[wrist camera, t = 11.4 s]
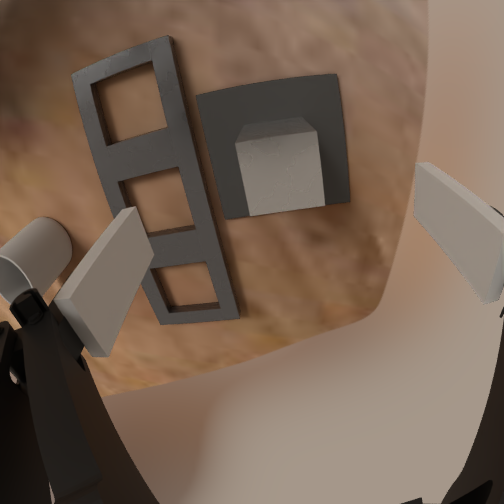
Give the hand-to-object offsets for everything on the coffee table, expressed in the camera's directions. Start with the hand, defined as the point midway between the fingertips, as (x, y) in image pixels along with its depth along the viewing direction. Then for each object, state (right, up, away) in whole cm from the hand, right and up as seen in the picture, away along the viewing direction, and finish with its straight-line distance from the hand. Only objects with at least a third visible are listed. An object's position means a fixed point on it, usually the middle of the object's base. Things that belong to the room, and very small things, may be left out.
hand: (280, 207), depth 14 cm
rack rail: (-10, +3, +16) cm, 19 cm away
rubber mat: (+1, +7, +13) cm, 15 cm away
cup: (-26, -2, +20) cm, 33 cm away
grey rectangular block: (+1, +7, +12) cm, 14 cm away
